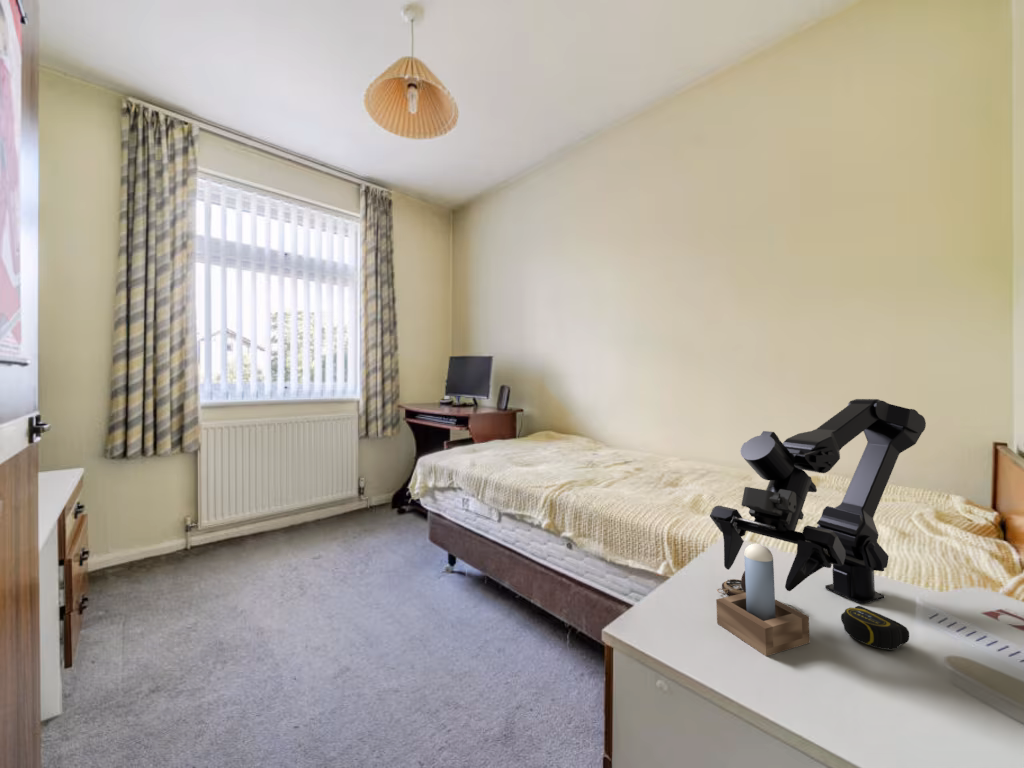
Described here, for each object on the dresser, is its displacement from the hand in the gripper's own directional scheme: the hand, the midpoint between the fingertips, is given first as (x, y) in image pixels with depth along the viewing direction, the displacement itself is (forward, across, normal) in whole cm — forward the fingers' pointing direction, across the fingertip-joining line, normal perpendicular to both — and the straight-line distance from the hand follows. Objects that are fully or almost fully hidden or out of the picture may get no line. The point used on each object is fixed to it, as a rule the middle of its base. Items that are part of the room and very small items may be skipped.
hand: (755, 578), depth 64 cm
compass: (-1, -8, +14) cm, 16 cm away
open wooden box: (+5, 0, +7) cm, 9 cm away
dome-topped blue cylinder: (+5, 0, +7) cm, 8 cm away
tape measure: (-3, +10, +16) cm, 20 cm away
